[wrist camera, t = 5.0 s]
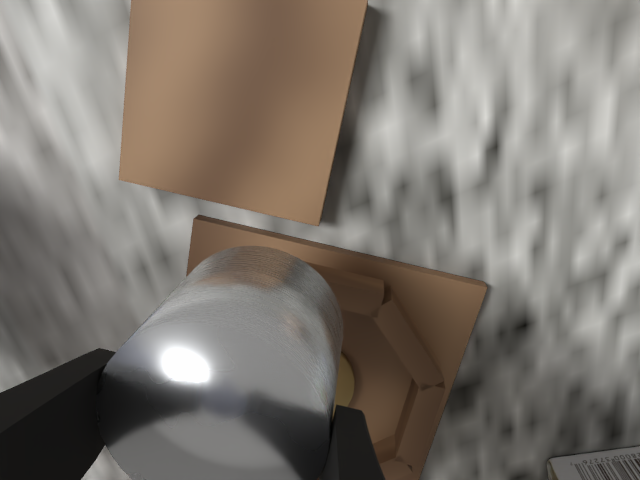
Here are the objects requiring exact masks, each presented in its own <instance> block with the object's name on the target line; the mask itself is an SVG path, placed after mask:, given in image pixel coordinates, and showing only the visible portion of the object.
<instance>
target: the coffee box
mask: <svg viewBox="0 0 640 480" xmlns="http://www.w3.org/2000/svg"><path fill="white" fill-rule="evenodd" d="M546 465H547V472H548V478H549V480H640V446H638V447H631V448H623V449H615V450H608V451H601V452H593V453H586V454H578V455H572V456H563V457H556V458H551V459H549V460H548V461H547V463H546Z"/></svg>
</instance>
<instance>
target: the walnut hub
mask: <svg viewBox="0 0 640 480" xmlns="http://www.w3.org/2000/svg"><path fill="white" fill-rule="evenodd" d="M239 246H264V247H270V248H274V249H278V250H281V251H284V252H287V253H289V254H291V255H293V256H295V257H297V258H299V259H301V260H302V261H304V262H305V263H307V264H308V265H310V266H311V267H312V268H313V269H314V270H316V271H317V272H318V273H319V274H320V275H321V276H322V277H323V278H324V280H325V281H326V282H327V284H328V285H329V286H330V288H331V289H332V291H333V293H334V295H335V296H336V298H337V301H338V303H339V306H340V309H341V313H342V318H343V340H342V347H341V355H340V363H339V371H338V379H337V387H336V395H335V402H334V410H333V416H334V412H335V408H336V404H337V405H341V406H345V407H350V408H354V409H358V410H362V412H363V413H364V415H365V419H366V423H367V427H368V431H369V434H370V437H371V441H372V444H373V447H374V450H375V453H376V456H377V459H378V461H379V464H380V467H381V469H382V472H383V475H384V477H385V480H419V478H420V475H421V472H422V469H423V467H424V464H425V461H426V458H427V455H428V453H429V450H430V447H431V444H432V441H433V439H434V436H435V433H436V430H437V427H438V425H439V422H440V419H441V416H442V413H443V411H444V408H445V405H446V402H447V399H448V397H449V394H450V391H451V388H452V385H453V383H454V380H455V377H456V374H457V371H458V369H459V366H460V363H461V360H462V357H463V355H464V352H465V349H466V346H467V343H468V341H469V338H470V335H471V332H472V329H473V327H474V324H475V321H476V318H477V315H478V313H479V310H480V307H481V304H482V301H483V299H484V296H485V293H486V290H487V286H486V284H485V283H484V282H483V281H479V280H474V279H470V278H466V277H461V276H457V275H453V274H449V273H444V272H440V271H436V270H432V269H427V268H423V267H419V266H415V265H410V264H406V263H402V262H398V261H393V260H389V259H385V258H380V257H376V256H372V255H368V254H363V253H359V252H355V251H351V250H346V249H342V248H338V247H334V246H329V245H325V244H321V243H317V242H312V241H308V240H304V239H300V238H295V237H291V236H287V235H282V234H278V233H274V232H270V231H265V230H261V229H257V228H253V227H248V226H244V225H240V224H236V223H231V222H227V221H223V220H219V219H214V218H210V217H206V216H201V215H198V216H197V217H195V218H194V219H193V227H192V235H191V243H190V251H189V259H188V267H187V275H186V277H187V276H188V275H189V274H190V273H191V272H192V271H193V269H194V268H195V267H197V266H198V265H199V264H200V263H201V262H202V261H204V260H205V259H207V258H208V257H210V256H211V255H213V254H215V253H218V252H220V251H222V250H226V249H229V248H233V247H239ZM332 420H333V418H332ZM317 480H319V477H318V479H317Z"/></svg>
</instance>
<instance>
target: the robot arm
mask: <svg viewBox="0 0 640 480" xmlns="http://www.w3.org/2000/svg"><path fill="white" fill-rule="evenodd" d="M115 353H116V352H113V351H109V350H104V349H100V348H99V349H96V350H94V351H91V352H89V353H87V354H85V355H82V356H80V357H78V358H76V359H74V360H71V361H69V362H67V363H65V364H63V365H61V366H59V367H57V368H54V369H52V370H50V371H48V372H46V373H44V374H41V375H39V376H37V377H35V378H33V379H31V380H28V381H26V382H24V383H22V384H20V385H17V386H15V387H13V388H11V389H8V390H6V391H3V392H1V393H0V480H81V479H82V477H83V476H84V475H85V473H86V472H87V471H88V469H89V468H90V467H91V465H92V464H93V463H94V461H95V460H96V459H97V457H98V455H99V454H100V452H101V450H102V449H103V447H104V446H105V442H104V440H103V438H102V435H101V433H100V429H99V426H98V423H97V416H96V399H97V386H98V383H99V380H100V377H101V374H102V372H103V370H104V368H105V367H106V365H107V363H108V362H109V360H110V359H111V358H112V357H113V356H114V354H115ZM319 480H385V477H384V475H383V472H382V469H381V467H380V464H379V461H378V459H377V456H376V453H375V450H374V447H373V444H372V441H371V437H370V434H369V431H368V427H367V423H366V419H365V415H364V413H363V412H362V410H358V409H354V408H350V407H345V406H341V405H337V404H336V408H335V412H334V416H333V420H332V426H331V434H330V442H329V450H328V454H327V458H326V462H325V465H324V467H323V470H322V472H321V474H320V476H319Z"/></svg>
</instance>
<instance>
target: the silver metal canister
mask: <svg viewBox="0 0 640 480" xmlns="http://www.w3.org/2000/svg"><path fill="white" fill-rule="evenodd" d="M342 340H343V318H342V313H341V309H340V306H339V303H338V301H337V298H336V296H335V295H334V293H333V291H332V289H331V288H330V286H329V285H328V284H327V282H326V281H325V280H324V278H323V277H322V276H321V275H320V274H319V273H318V272H317V271H316V270H314V269H313V268H312V267H311V266H310V265H308V264H307V263H305V262H304V261H302V260H301V259H299V258H297V257H295V256H293V255H291V254H289V253H287V252H284V251H281V250H278V249H274V248H270V247H264V246H239V247H233V248H229V249H226V250H222V251H220V252H218V253H215V254H213V255H211V256H210V257H208V258H207V259H205V260H204V261H202V262H201V263H200V264H199V265H198V266H197V267H195V268H194V269H193V271H192V272H191V273H190V274H189V275H188V276H187V277H186V278H185V279H184V280H183V281H182V282H181V283H180V284H179V286H178V287H177V288H176V289H175V290H174V291H173V292H172V293H171V294H170V295H169V296H168V297H167V298H166V299H165V301H164V302H163V303H162V304H161V305H160V306H159V307H158V308H157V309H156V310H155V311H154V312H153V313H152V314H151V316H150V317H149V318H148V319H147V320H146V321H145V322H144V323H143V324H142V325H141V326H140V327H139V328H138V329H137V330H136V332H135V333H134V334H133V335H132V336H131V337H130V338H129V339H128V340H127V341H126V342H125V343H124V344H123V345H122V347H121V348H120V349H119V350H118V351H117V352H116V353H115V354H114V356H113V357H112V358H111V359H110V360H109V362H108V363H107V365H106V367H105V368H104V370H103V372H102V374H101V377H100V380H99V383H98V386H97V399H96V416H97V423H98V426H99V429H100V433H101V435H102V438H103V440H104V442H105V445H106V447H107V448H108V450H109V452H110V453H111V455H112V457H113V458H114V459H115V461H116V462H117V463H118V465H119V466H120V467H121V468H122V470H123V471H124V472H125V473H126V474H127V475H128V476H129V477H130V478H131V479H132V480H317V479H318V477H319V476H320V474H321V472H322V470H323V467H324V465H325V462H326V458H327V454H328V450H329V442H330V434H331V426H332V418H333V410H334V402H335V395H336V387H337V379H338V371H339V363H340V355H341V347H342Z"/></svg>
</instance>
